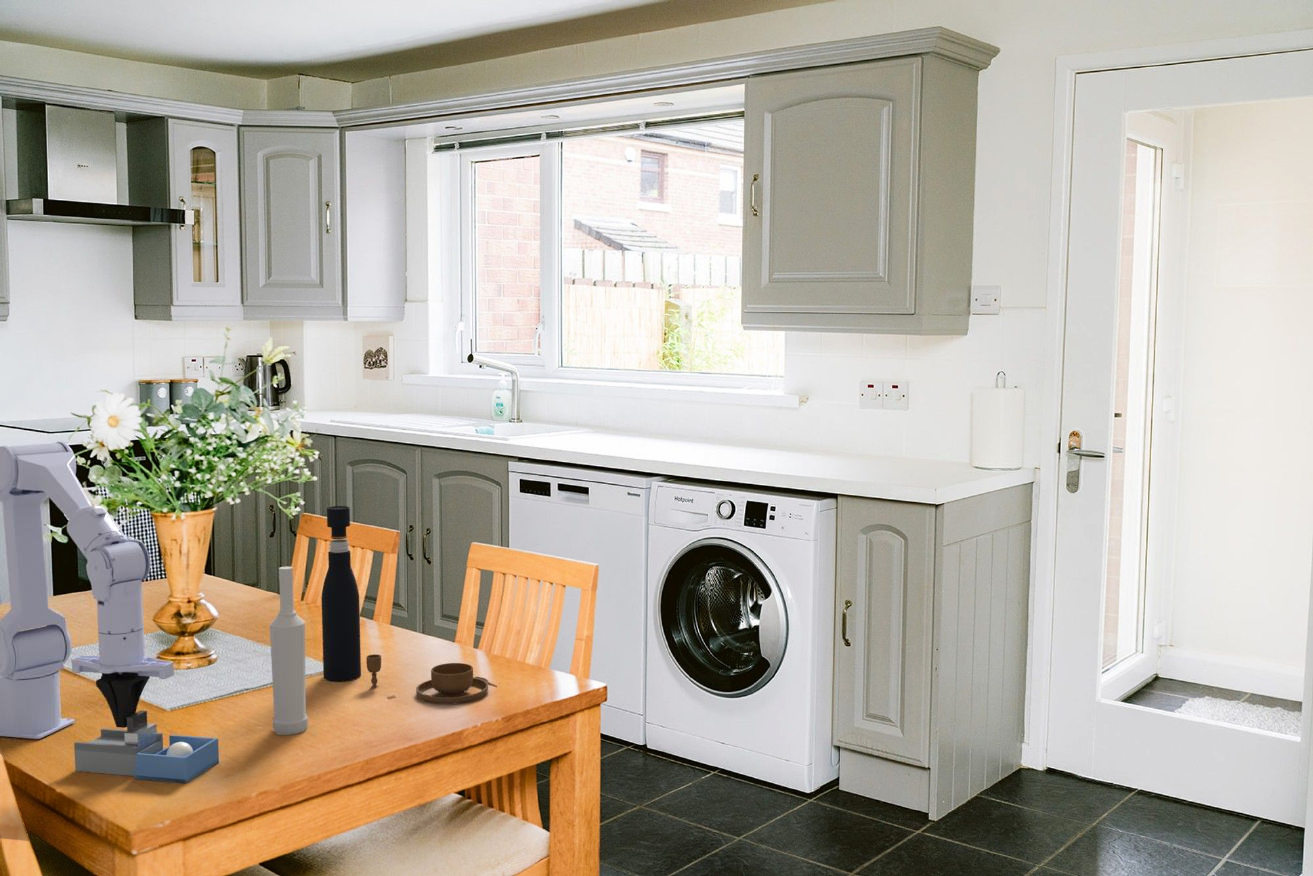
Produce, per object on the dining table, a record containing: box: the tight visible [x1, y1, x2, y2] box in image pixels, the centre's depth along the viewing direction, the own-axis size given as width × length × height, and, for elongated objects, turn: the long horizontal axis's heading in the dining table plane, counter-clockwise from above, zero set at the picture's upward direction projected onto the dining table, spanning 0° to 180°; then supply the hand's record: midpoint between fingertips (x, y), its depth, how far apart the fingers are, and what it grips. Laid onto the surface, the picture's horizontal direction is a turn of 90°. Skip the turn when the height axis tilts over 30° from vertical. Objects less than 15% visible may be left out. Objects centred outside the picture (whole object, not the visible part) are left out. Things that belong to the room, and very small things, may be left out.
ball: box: [166, 742, 193, 757], centre depth 161 cm, size 4×4×4 cm
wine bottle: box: [320, 505, 362, 683], centre depth 204 cm, size 6×6×30 cm
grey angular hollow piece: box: [124, 710, 158, 751], centre depth 162 cm, size 2×4×4 cm, turn 168°
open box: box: [133, 734, 220, 784], centre depth 162 cm, size 8×8×4 cm
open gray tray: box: [73, 728, 164, 777], centre depth 163 cm, size 10×6×4 cm, turn 78°
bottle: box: [269, 565, 309, 736], centre depth 177 cm, size 5×5×25 cm
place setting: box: [366, 654, 498, 705], centre depth 199 cm, size 18×20×6 cm
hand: (125, 725), depth 163 cm, fingers closed
